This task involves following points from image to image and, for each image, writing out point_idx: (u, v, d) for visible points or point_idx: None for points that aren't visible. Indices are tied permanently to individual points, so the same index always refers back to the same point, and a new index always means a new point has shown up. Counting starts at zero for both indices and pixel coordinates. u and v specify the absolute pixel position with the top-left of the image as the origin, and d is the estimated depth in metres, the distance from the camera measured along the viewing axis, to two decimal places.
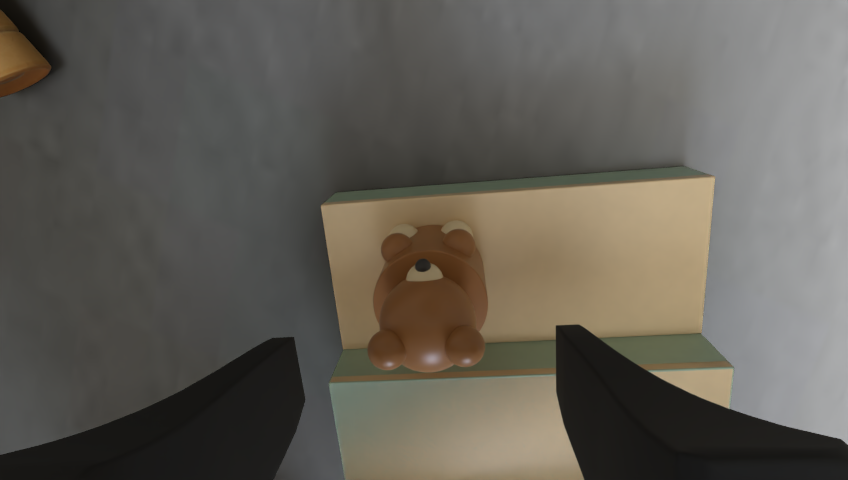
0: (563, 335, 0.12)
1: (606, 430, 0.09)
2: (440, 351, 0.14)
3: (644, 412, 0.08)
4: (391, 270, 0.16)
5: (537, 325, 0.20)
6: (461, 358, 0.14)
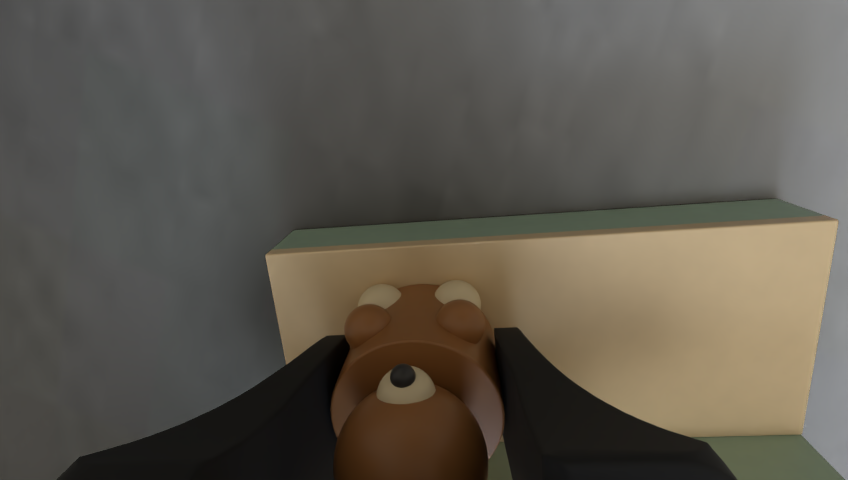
0: (496, 338, 0.12)
1: (519, 432, 0.09)
2: None
3: (542, 416, 0.08)
4: (356, 369, 0.11)
5: None
6: None
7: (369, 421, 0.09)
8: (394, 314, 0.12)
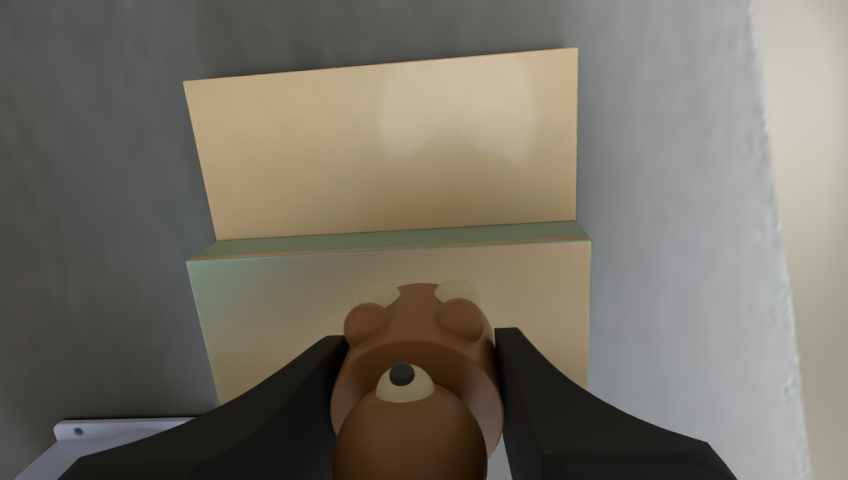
0: (496, 338, 0.12)
1: (519, 432, 0.09)
2: None
3: (542, 415, 0.08)
4: (356, 367, 0.11)
5: (410, 212, 0.20)
6: None
7: (368, 419, 0.09)
8: (393, 313, 0.12)
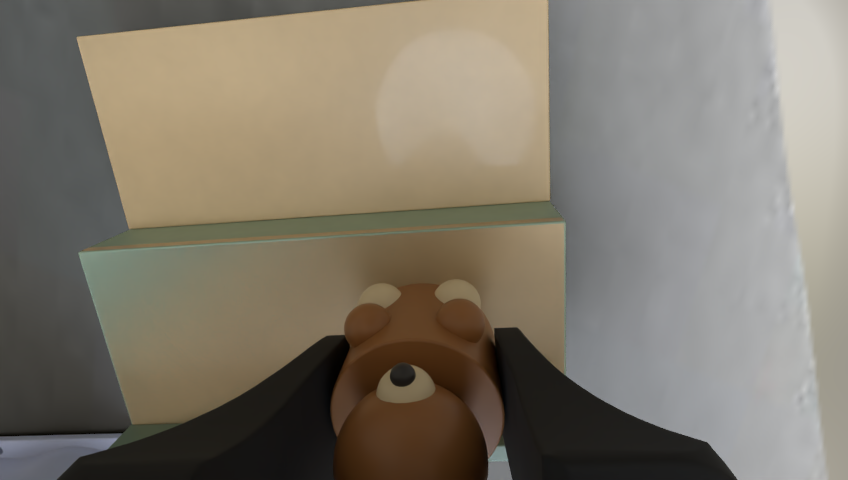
0: (496, 338, 0.12)
1: (519, 432, 0.09)
2: None
3: (541, 415, 0.08)
4: (356, 368, 0.11)
5: (353, 193, 0.17)
6: None
7: (369, 420, 0.09)
8: (394, 313, 0.12)
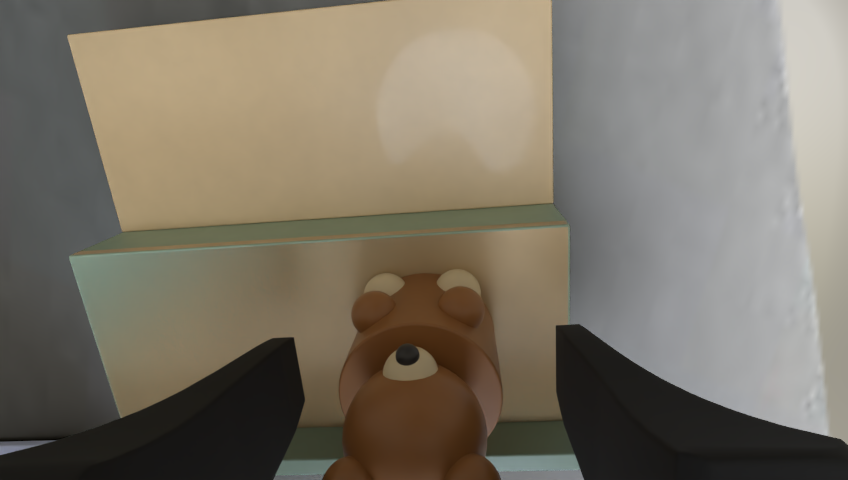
0: (563, 335, 0.12)
1: (606, 430, 0.09)
2: None
3: (644, 412, 0.08)
4: (363, 351, 0.11)
5: (351, 195, 0.16)
6: None
7: (376, 396, 0.10)
8: (398, 300, 0.13)
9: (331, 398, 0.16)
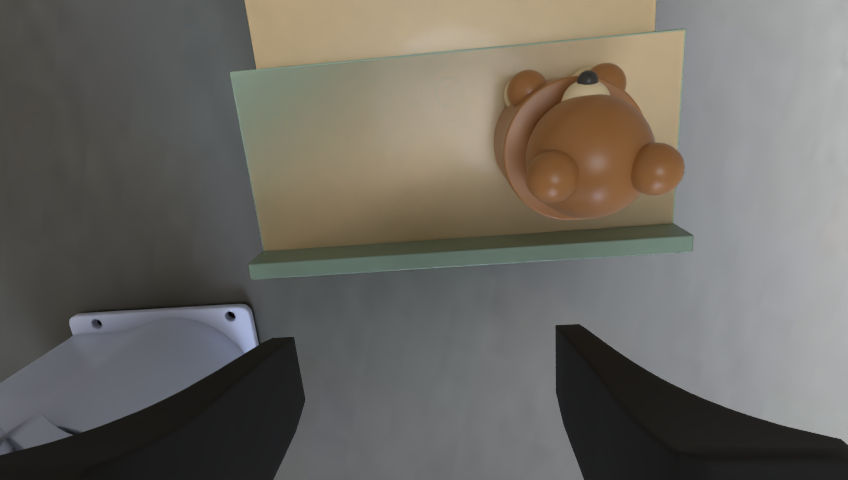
0: (563, 335, 0.12)
1: (606, 430, 0.09)
2: (626, 174, 0.11)
3: (645, 413, 0.08)
4: (530, 105, 0.13)
5: (472, 32, 0.18)
6: (659, 176, 0.11)
7: (567, 106, 0.12)
8: (547, 81, 0.14)
9: (459, 209, 0.17)
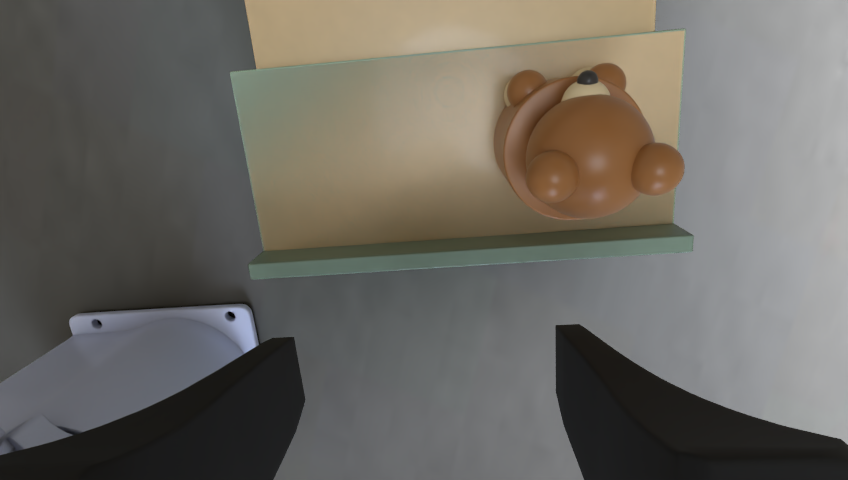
0: (563, 335, 0.12)
1: (606, 430, 0.09)
2: (626, 174, 0.11)
3: (645, 413, 0.08)
4: (530, 105, 0.13)
5: (472, 32, 0.18)
6: (659, 176, 0.11)
7: (567, 106, 0.12)
8: (547, 81, 0.14)
9: (459, 209, 0.17)
